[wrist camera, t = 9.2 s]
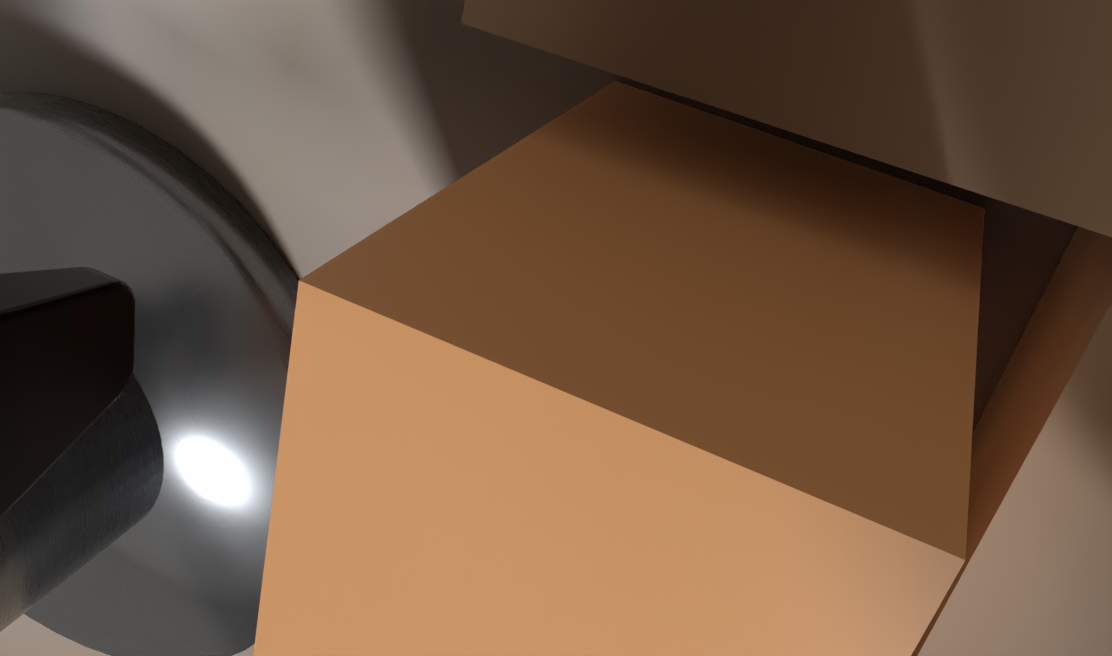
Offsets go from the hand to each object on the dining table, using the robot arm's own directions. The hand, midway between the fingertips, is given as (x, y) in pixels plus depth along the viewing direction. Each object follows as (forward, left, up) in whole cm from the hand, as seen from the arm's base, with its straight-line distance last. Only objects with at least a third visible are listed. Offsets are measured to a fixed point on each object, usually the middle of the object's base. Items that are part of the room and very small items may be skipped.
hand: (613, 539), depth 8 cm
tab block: (0, 0, -5) cm, 5 cm away
